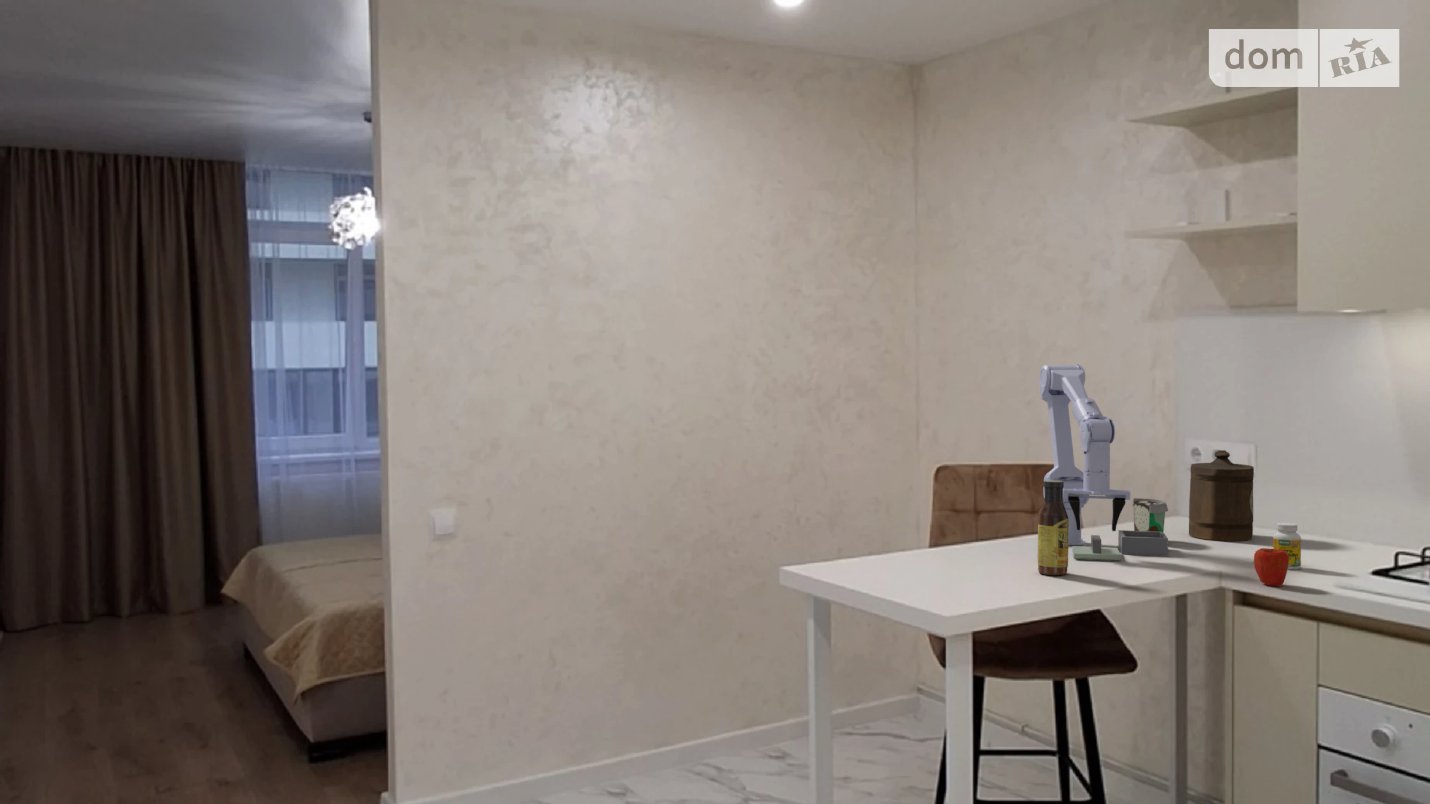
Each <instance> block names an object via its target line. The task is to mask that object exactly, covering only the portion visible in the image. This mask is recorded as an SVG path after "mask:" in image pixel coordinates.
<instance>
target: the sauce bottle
mask: <svg viewBox="0 0 1430 804" xmlns="http://www.w3.org/2000/svg"><path fill="white" fill-rule="evenodd" d="M1063 487H1064V482H1063V481H1058V480H1047V481H1044V480H1043V488H1045V498H1044V497H1043V501H1044V502H1043V504H1042V506H1041V507H1040V509H1039V511H1038V523H1037V525H1038V526H1037V567H1038V568H1037V571H1038V573H1040V574H1041V575H1044V576H1045V575H1046V576H1063V575H1066V574H1067V573H1068V567H1069V545H1068V535H1069V533H1068V531H1069V518H1068V515H1067V512H1066V509H1065V507H1064V504H1063Z"/></svg>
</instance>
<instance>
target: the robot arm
mask: <svg viewBox="0 0 1430 804" xmlns="http://www.w3.org/2000/svg"><path fill="white" fill-rule="evenodd" d="M1085 382H1086V370H1085V369H1084V367H1083V366H1082V364H1079V363H1078V364H1059V365H1058V364H1055V365H1053V364H1051V365H1050V364H1044V365H1043V366H1042V367H1041V369H1040V371H1039V376H1038V383H1039V393H1040V396H1041V397H1040V398H1041V400H1042V401H1044V402H1045V403H1047V409H1048V417H1049V418H1048V419H1049V427H1050V429H1049V430H1050V439H1051V448H1052V449H1051V450H1052V457H1053V458H1052V459H1053V468H1052V469H1051V470H1050V471H1048V472H1047V473H1046V474H1045V475H1044V477H1043V482H1044V481H1047V480H1058V481H1063V482H1064V487H1063V504H1064V507H1065V509H1066V512H1067V515H1068V518H1069V531H1068V533H1069V535H1068V546H1069V545H1070V546H1072V545H1073V546H1084V545H1085V543H1084V540H1083V538H1082V508H1084V507H1085V505H1086V504H1087V503H1088V502H1089V500H1090V499H1101V500H1102V499H1104V500H1112V520H1111V531H1112V532H1116V531H1117V525H1118V521H1119V519H1120V516H1121V513H1122V511H1123V509H1124V507H1125V505H1126V500H1127V501H1130V500H1131V491H1130V490H1124V489H1111V488H1110V487H1111V486H1110V484H1111V483H1110V482H1111V481H1110V480H1111V479H1110V478H1111V444H1112V443H1113V442H1114V440H1115V436H1116V429H1115V424H1114V422H1113V419H1112V418H1110V417H1108V416H1104V415H1103V413H1102V411H1101V409H1100V407H1099V405H1098V404H1097V402H1096V401H1095V399H1092V398H1090V397H1088V394H1087V391H1086V389H1085ZM1070 403H1072V404H1073V406H1072V409H1071V411H1072V414H1073V416H1074V419H1075V420H1076V421H1077V423H1078V425H1079V430H1078V431H1079V432H1078V433H1079V438H1080V442H1081V444H1080V446H1081V447H1080V448H1081V450H1082V452H1083V471H1082V470H1081V469H1079V468H1078V467H1077V466H1075V455H1074V447H1073V445H1074V444H1073V438H1072V427H1071V421H1070V420H1071V418H1070V410H1069V409H1070V408H1069V404H1070ZM1042 491H1043V495H1042V496H1043V499H1044V498H1045V488H1044V487H1043V490H1042Z"/></svg>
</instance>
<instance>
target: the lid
mask: <svg viewBox="0 0 1430 804" xmlns="http://www.w3.org/2000/svg"><path fill="white" fill-rule="evenodd" d="M1071 547H1072V548H1071V549H1072V550H1071V552H1072V556H1073V558H1074V559H1078V560H1082V561H1083V560H1084V561H1086V560H1087V561H1103V562H1104V561H1106V562H1116V561H1119V560H1120V561H1121V560H1122V553H1121V551H1120V549H1119V547H1106V546H1102V539H1101V536H1100V535H1099V534H1098V535H1097V534H1096V535H1095V534H1091V535H1090V546H1084V545H1073V546H1072V545H1071Z"/></svg>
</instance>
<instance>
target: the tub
mask: <svg viewBox="0 0 1430 804" xmlns="http://www.w3.org/2000/svg"><path fill="white" fill-rule="evenodd" d="M1117 544H1118V545H1117V548H1118V550H1119V552H1120V554H1121V555H1134V556H1135V555H1136V556H1139V555H1140V556H1160V557H1161V556H1162V557H1163V556H1165V557H1167V556H1169V537H1167V535H1166V534H1165V533H1164V531H1163V532H1156V531H1134V530H1123V529H1120V530H1119V529H1118V543H1117Z"/></svg>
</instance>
